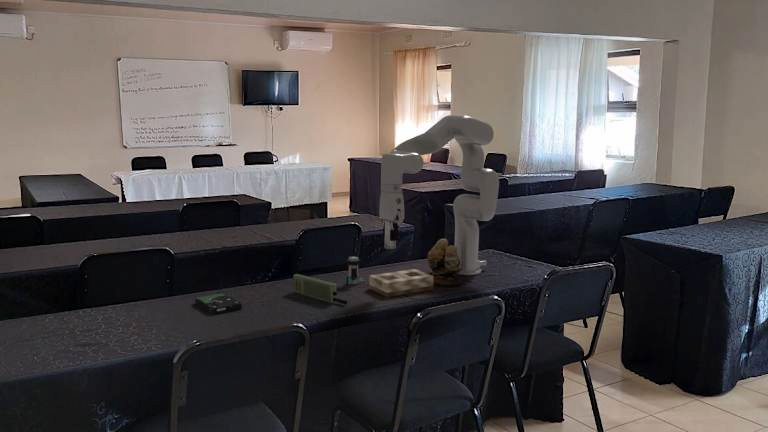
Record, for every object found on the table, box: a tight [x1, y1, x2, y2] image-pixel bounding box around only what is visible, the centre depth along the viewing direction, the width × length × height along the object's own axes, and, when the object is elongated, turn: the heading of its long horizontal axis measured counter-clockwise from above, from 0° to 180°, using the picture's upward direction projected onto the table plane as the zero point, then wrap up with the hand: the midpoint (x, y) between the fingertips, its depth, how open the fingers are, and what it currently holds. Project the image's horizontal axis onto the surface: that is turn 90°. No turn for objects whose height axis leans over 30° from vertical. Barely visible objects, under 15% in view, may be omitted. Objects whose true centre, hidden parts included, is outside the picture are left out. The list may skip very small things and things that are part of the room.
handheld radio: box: [292, 273, 348, 305], centre depth 229 cm, size 7×3×25 cm
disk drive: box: [195, 292, 243, 316], centre depth 219 cm, size 10×3×15 cm
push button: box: [345, 256, 364, 286], centre depth 249 cm, size 7×5×10 cm
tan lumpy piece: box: [427, 238, 462, 288], centre depth 253 cm, size 18×12×17 cm, turn 37°
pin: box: [384, 219, 397, 250], centre depth 237 cm, size 4×4×10 cm
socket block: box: [368, 268, 434, 298], centre depth 243 cm, size 20×12×5 cm, turn 122°
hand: (390, 238), depth 237 cm, fingers closed on pin, 4 cm apart
